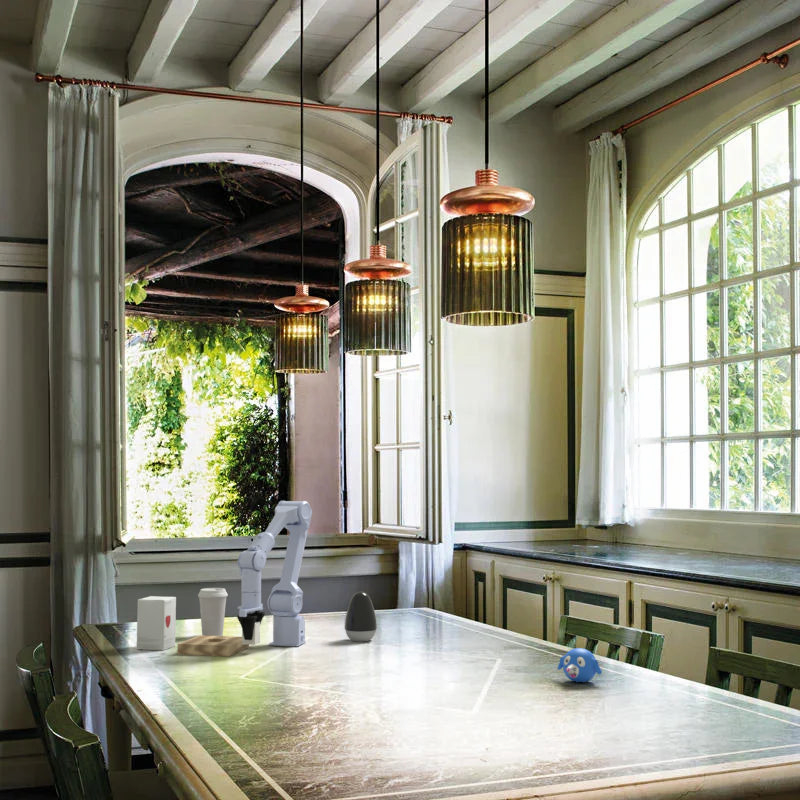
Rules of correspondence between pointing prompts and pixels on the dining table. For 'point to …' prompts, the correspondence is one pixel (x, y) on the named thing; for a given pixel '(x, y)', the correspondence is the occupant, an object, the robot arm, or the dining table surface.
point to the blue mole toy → (579, 665)
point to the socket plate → (211, 646)
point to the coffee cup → (212, 610)
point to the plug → (255, 637)
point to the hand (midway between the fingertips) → (251, 638)
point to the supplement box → (156, 623)
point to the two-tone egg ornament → (360, 618)
